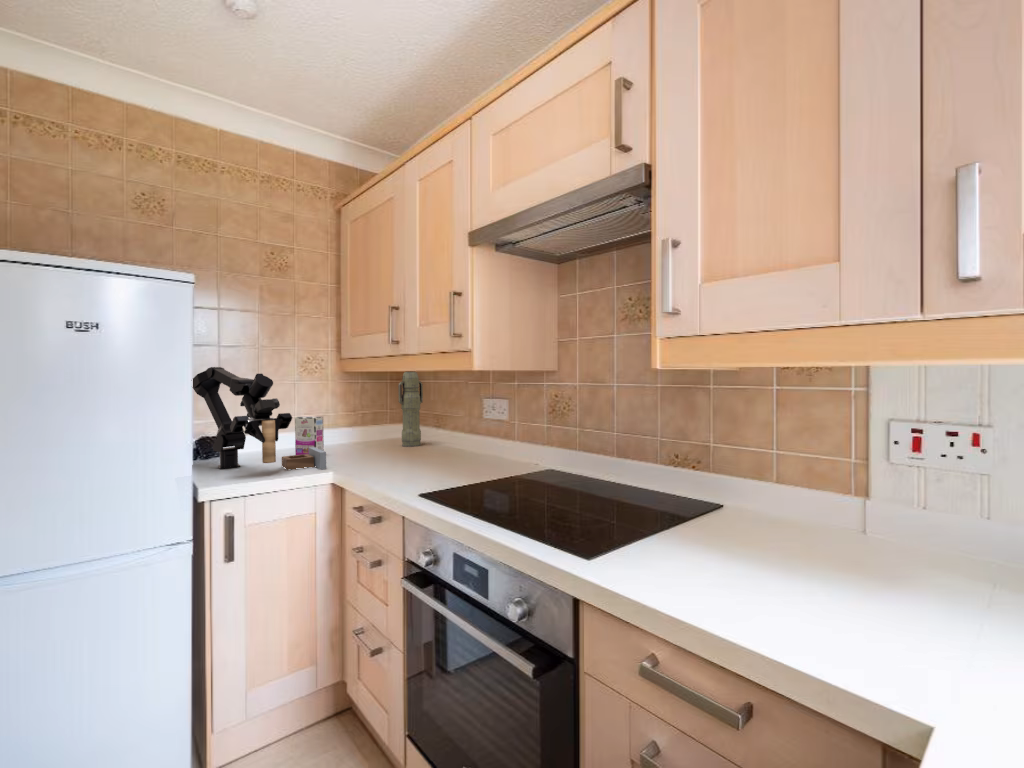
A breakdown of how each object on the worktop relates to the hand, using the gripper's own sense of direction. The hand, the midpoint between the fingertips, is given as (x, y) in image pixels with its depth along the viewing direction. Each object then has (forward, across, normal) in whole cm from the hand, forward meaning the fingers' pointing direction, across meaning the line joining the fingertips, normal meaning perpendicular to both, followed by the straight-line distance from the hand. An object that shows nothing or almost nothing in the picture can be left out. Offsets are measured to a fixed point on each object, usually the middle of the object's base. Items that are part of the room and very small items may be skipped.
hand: (270, 441), depth 162 cm
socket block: (+3, +13, +13) cm, 19 cm away
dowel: (+4, 0, +6) cm, 7 cm away
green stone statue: (-4, +74, +20) cm, 76 cm away
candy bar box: (-12, +29, +28) cm, 42 cm away
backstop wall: (+6, +18, +10) cm, 21 cm away
